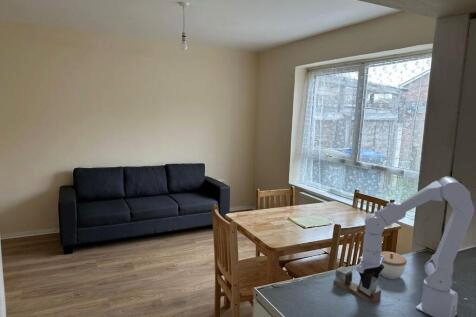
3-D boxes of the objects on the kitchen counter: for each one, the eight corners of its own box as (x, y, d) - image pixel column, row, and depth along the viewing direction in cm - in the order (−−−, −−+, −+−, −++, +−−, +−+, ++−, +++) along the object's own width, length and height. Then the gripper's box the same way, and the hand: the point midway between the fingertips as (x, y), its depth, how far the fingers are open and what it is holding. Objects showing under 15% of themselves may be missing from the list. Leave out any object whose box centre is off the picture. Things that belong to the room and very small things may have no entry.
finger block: (375, 291, 112) (378, 279, 111) (369, 295, 110) (372, 283, 108) (363, 284, 115) (367, 272, 114) (357, 288, 113) (360, 276, 112)
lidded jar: (397, 285, 120) (399, 262, 118) (370, 274, 128) (371, 252, 127) (409, 276, 127) (411, 254, 125) (383, 266, 135) (384, 245, 133)
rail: (380, 298, 111) (381, 283, 110) (373, 303, 108) (375, 287, 107) (340, 279, 123) (341, 265, 123) (333, 283, 121) (334, 269, 120)
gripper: (372, 240, 117) (369, 274, 119) (349, 250, 108) (347, 287, 110) (391, 246, 112) (388, 282, 114) (369, 257, 103) (366, 296, 105)
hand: (369, 285), depth 112 cm, fingers closed on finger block, 4 cm apart
